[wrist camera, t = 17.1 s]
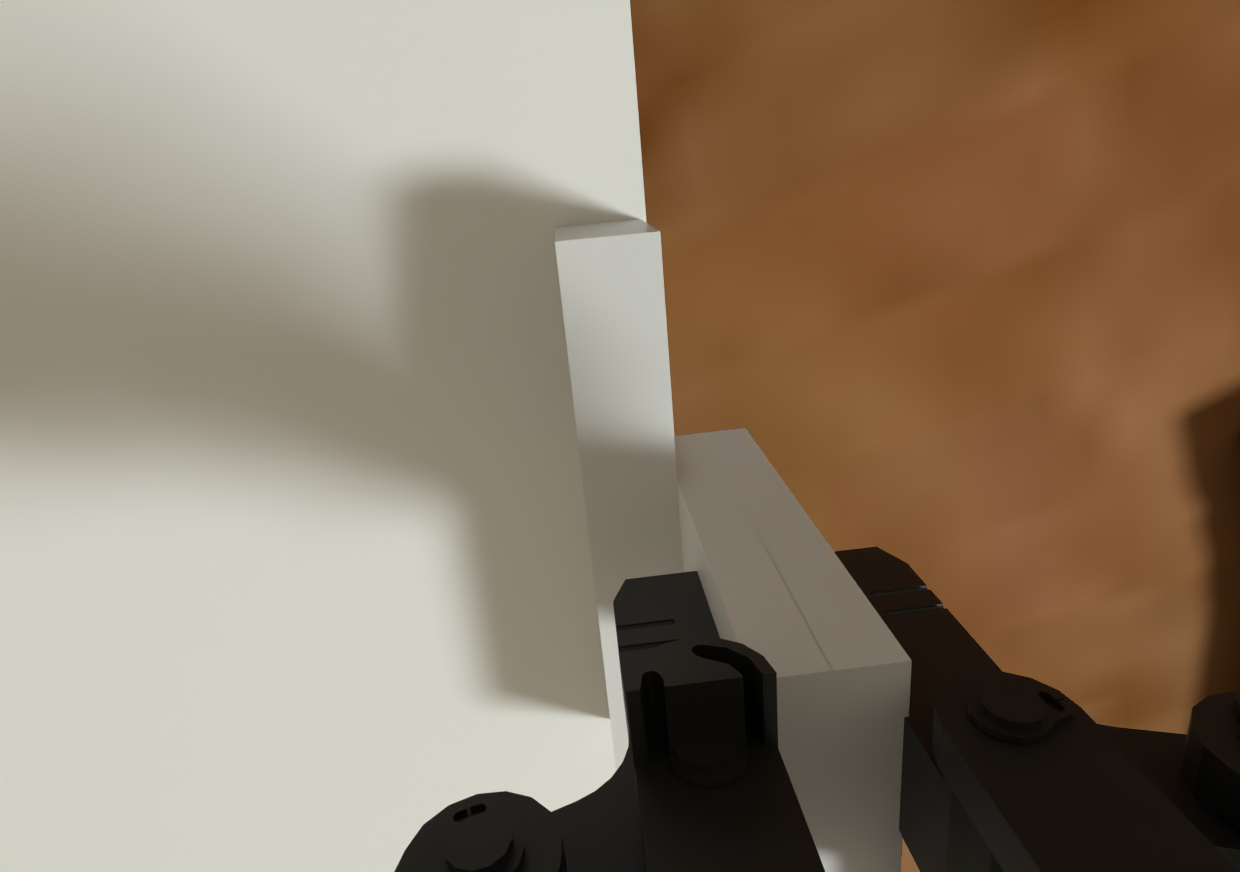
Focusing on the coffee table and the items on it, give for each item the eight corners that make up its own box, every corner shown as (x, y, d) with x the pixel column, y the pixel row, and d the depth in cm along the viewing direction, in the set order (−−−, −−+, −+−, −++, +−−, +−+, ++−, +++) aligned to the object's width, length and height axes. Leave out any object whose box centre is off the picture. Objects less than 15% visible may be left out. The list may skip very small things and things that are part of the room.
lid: (-494, -125, 10) (-958, -254, 7) (609, -206, 11) (628, -358, 8) (55, 971, 18) (-54, 1146, 15) (692, 884, 19) (720, 1033, 15)
